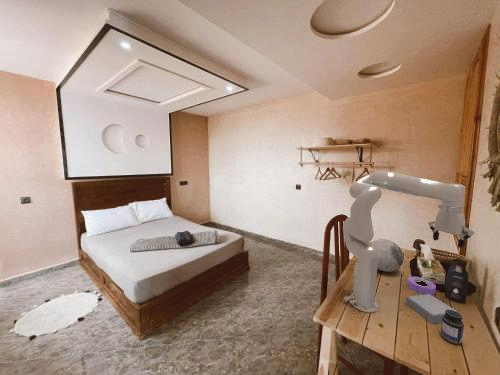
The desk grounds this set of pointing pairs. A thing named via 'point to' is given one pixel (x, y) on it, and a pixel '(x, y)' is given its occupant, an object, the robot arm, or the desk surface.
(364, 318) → the desk surface
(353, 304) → the robot arm
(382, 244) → the moon model
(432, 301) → the podium
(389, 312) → the desk surface
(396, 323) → the desk surface
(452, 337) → the pill bottle
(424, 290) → the masking tape
